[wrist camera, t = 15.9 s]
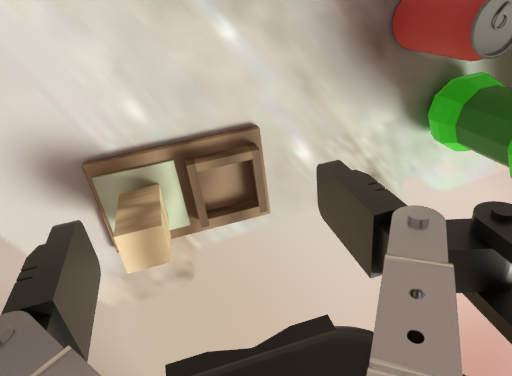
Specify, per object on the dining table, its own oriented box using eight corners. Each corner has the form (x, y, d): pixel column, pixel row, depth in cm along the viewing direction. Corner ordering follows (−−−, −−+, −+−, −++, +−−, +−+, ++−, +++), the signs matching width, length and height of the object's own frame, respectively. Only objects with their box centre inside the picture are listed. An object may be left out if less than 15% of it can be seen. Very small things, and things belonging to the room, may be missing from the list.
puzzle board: (117, 247, 46) (116, 262, 44) (83, 163, 40) (79, 174, 38) (268, 209, 49) (274, 221, 47) (257, 125, 44) (264, 133, 41)
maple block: (131, 224, 44) (127, 273, 36) (119, 192, 41) (113, 237, 34) (168, 215, 44) (173, 261, 37) (158, 183, 42) (161, 225, 34)
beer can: (448, -2, 43) (545, -1, 32) (422, 55, 45) (504, 73, 35) (405, -22, 40) (494, -29, 30) (380, 39, 43) (454, 52, 32)
